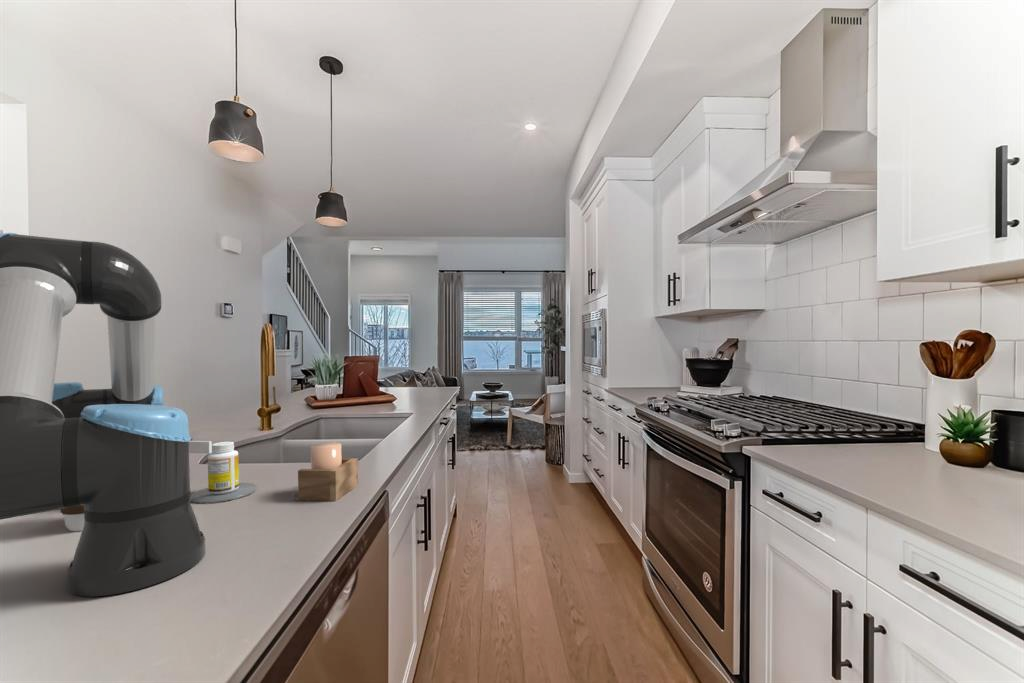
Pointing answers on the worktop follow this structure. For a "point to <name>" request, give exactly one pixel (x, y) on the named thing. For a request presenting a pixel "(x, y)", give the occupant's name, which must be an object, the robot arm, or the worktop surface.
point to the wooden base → (327, 481)
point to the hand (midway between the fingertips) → (186, 454)
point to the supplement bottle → (223, 468)
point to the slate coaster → (206, 497)
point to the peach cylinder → (326, 455)
